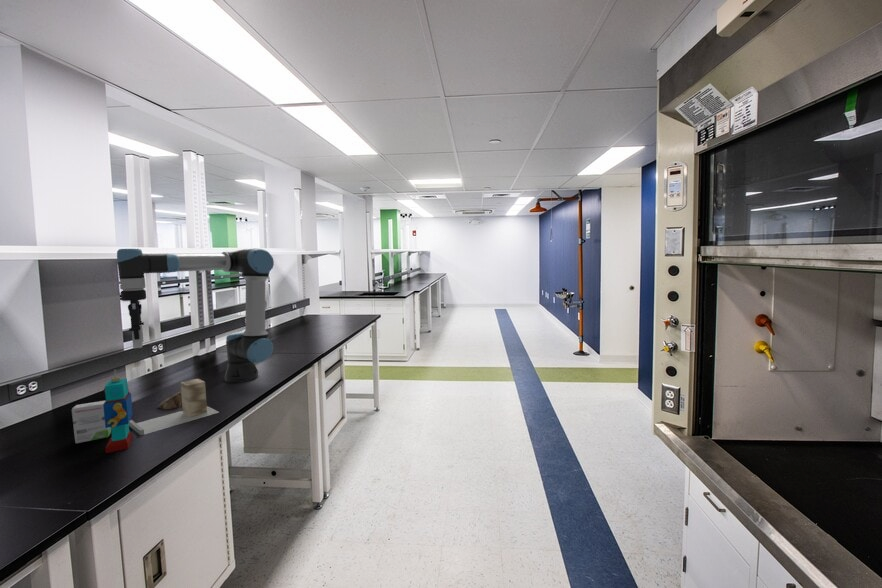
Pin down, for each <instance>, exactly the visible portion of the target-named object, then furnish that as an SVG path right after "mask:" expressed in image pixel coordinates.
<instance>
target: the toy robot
mask: <svg viewBox="0 0 882 588" xmlns="http://www.w3.org/2000/svg"><path fill="white" fill-rule="evenodd" d="M113 370H114V371H113V375H114V377H111V378H110V379H111V380H109V381H108V382H107V383H106V384H105V386H104V388H103V393H104V395H105V400H104V401H105V403H104V404H103V407H104V418H105V428H109V427H111V437H110V438H109V440H108V442H107V445H106V446H105V447H104V448H105V450H104V451H105V454H108V453H114V451H115V452H118V451H124V450H128V449H129V447H130V445H131V443H132V441H133V433H132V432H131V431H130V426H129V421H130V420H132V417H133V415H134V414H133V403H132V402H133V401H132V393H131V392H130V391H129V388H128V386H129V385H128V379H127V378H121V377H120V376H116V371H117V370H116V369H113ZM123 449H124V450H123Z"/></svg>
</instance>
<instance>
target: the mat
mask: <svg viewBox="0 0 882 588" xmlns="http://www.w3.org/2000/svg"><path fill="white" fill-rule="evenodd" d="M219 413H220V411H219V410H216V409H214V408H212V407H210V406H208V405H207V413H204V414H201V415H198V416H194V417H191V418H189V417H188V416H186V415H185V414H183V410H179V411H176V412H173V413H170V414H169V413H168V414H165V415H163V416H159V417H154V418H151V419H148V420H144V421H143V420H142V421H140V422H135V421H134V420H133V419H130V421H129V428H131V429H132V430H133V431H135V432H136V433H137V434H138V435H139V436H144V435H147V434H150V433H154V432H159V431H161V430H164V429H167V428H171V427H175V426H178V425H181V424H185V423H188V422H191V421H194V420H195V421H196V420H199V419H202V418H205V417H208V416H212V415H215V414H219Z"/></svg>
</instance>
